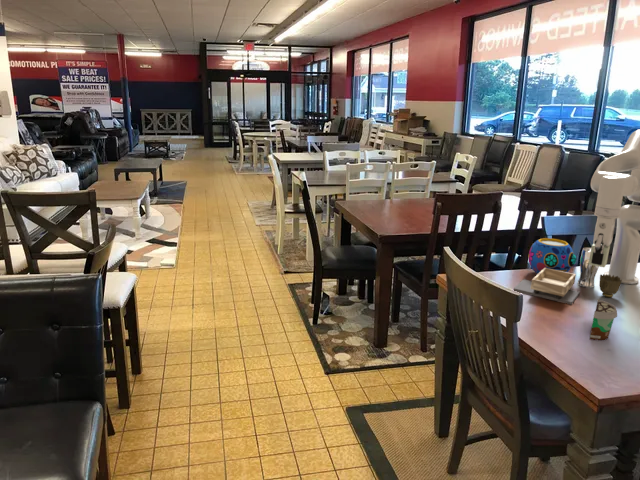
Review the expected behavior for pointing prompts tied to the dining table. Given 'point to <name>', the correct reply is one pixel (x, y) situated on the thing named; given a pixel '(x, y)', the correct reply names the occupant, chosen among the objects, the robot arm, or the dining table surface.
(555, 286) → the slatted wooden crate
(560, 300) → the dark gray flat slab
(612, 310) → the food container
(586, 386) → the dining table surface
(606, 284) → the cup
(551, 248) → the ceramic pot
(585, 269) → the beer glass
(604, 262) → the cream rectangular block
